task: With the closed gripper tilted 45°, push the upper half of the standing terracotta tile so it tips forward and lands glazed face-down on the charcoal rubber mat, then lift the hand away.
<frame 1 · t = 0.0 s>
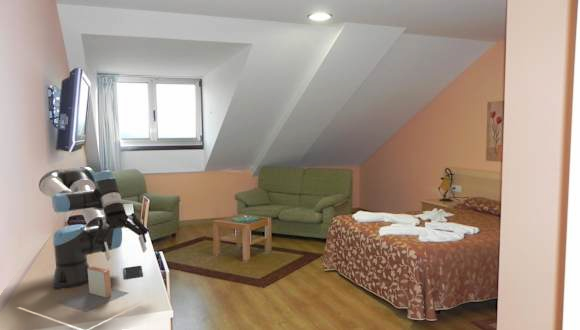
hand: (127, 255, 162), 15 cm above the table, tool tilted 35°, fingers open, 13 cm apart
tile: (100, 294, 162), point 1 cm above the table, touching mat
mat: (93, 299, 160), on the table
phone: (133, 274, 185), on the table
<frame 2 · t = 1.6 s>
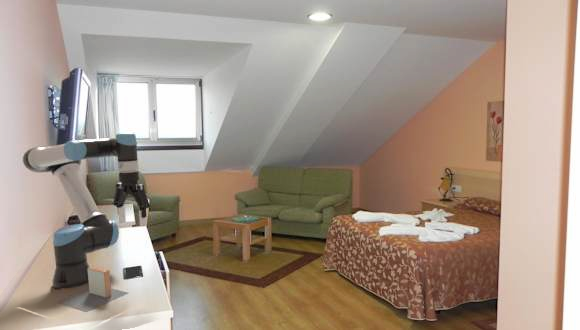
hand: (132, 224, 174), 24 cm above the table, tool pointing down, fingers open, 12 cm apart
nothing on the table moved.
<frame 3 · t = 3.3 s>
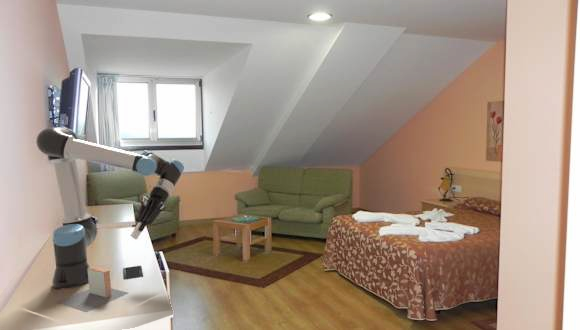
hand: (133, 237, 175), 18 cm above the table, tool tilted 45°, fingers closed
nothing on the table moved.
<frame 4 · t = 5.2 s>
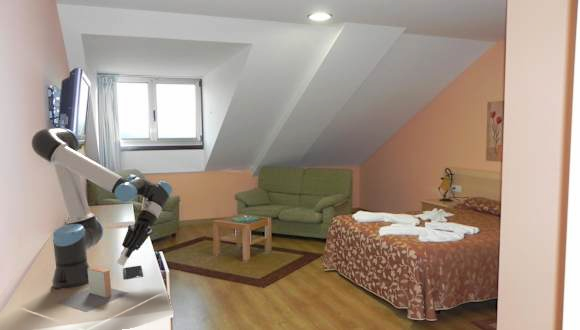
hand: (120, 263, 170), 10 cm above the table, tool tilted 45°, fingers closed
nothing on the table moved.
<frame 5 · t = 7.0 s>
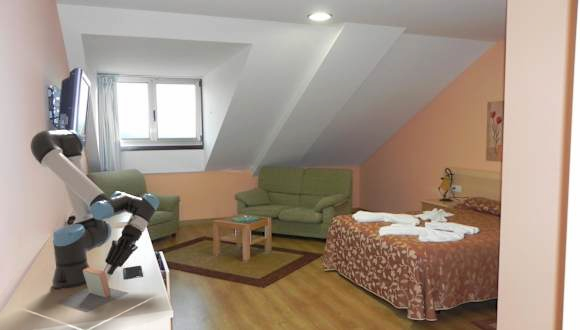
hand: (102, 281, 163), 5 cm above the table, tool tilted 45°, fingers closed
tile: (100, 294, 162), point 1 cm above the table, tilted 12°, touching mat
everything else where it was.
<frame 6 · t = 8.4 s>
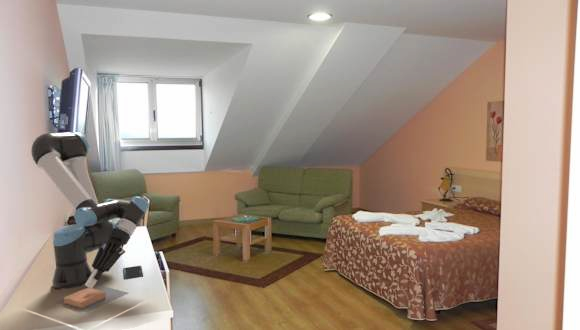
hand: (88, 286, 158), 5 cm above the table, tool tilted 45°, fingers closed
tile: (97, 292, 161), point 2 cm above the table, tilted 90°, touching mat
everything else where it was.
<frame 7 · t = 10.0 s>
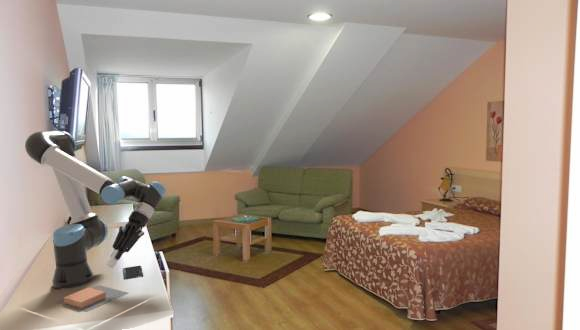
hand: (109, 266, 166), 10 cm above the table, tool tilted 45°, fingers closed
nothing on the table moved.
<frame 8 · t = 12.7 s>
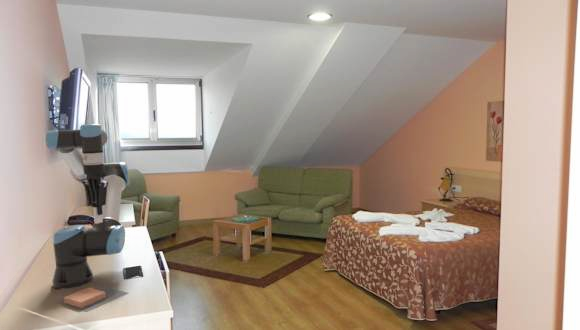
hand: (98, 222, 169), 26 cm above the table, tool pointing down, fingers closed
nothing on the table moved.
at the end: tile tilted 90°; tile inside the target area (0.1 cm from its centre), point 1.8 cm above the table; tile touching mat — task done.
